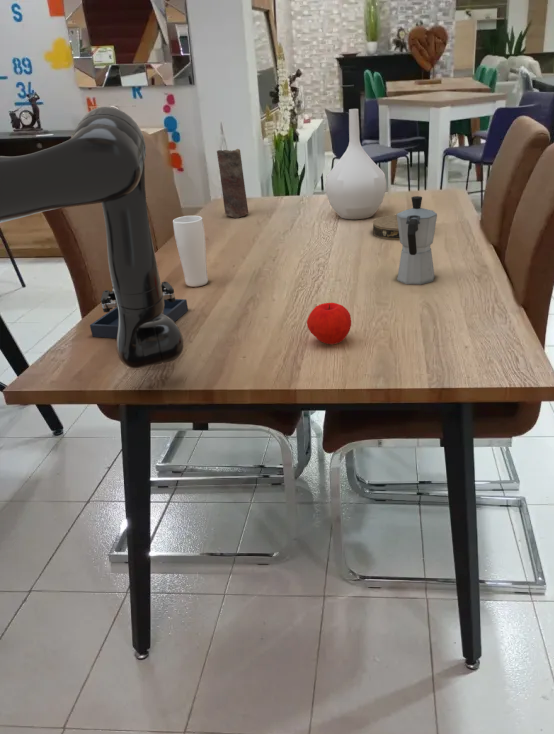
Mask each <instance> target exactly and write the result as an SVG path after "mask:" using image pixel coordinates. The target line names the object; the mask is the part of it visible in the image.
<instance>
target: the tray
mask: <svg viewBox="0 0 554 734" xmlns="http://www.w3.org/2000/svg"><path fill="white" fill-rule="evenodd" d="M175 300H176V301H175V302H169V301H166V299H165V300H164V310H163V311H164V315H166V316H168V317H169V318H171V319H172V320H173V321H174V322H175V323H176V322H177V321H178V320H179V319H180V318H181V317H182V316H184V315H185V314H186V313H187V312H189V306H188V300H187V299H186V298H184V299H182V298H175ZM118 323H119V313H118V308H117V307H113V309H110V311H109V312H106V313H105V314H104V315H102V316H100V317H99V318H98V319H96V320H95V321H94V322H91V324H89V328H90V331H91V336H92V337H93V338H105V339H106V338H108V339H117V332H118Z"/></svg>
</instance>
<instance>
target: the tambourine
mask: <svg viewBox="0 0 554 734" xmlns="http://www.w3.org/2000/svg"><path fill="white" fill-rule="evenodd" d="M372 230H373V231H372V234H373V235H374V236H375V237H377V238H380V239H384V240H385V239H386V240H395V241H400V237H399V229H398V221H397V215H396V214H390V215H384V216H380V217H377V218H375V219H374V220H373V221H372Z"/></svg>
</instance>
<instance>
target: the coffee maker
mask: <svg viewBox="0 0 554 734" xmlns="http://www.w3.org/2000/svg"><path fill="white" fill-rule="evenodd" d="M410 199H411V204H412V207H410V208H408V209H405V210H402V211H399V212H397V213H395V215H397V221H398V229H399V237H400V240H399V243H400V244H401V245H402V249H401V251H400V258H399V265H398V272H397V276H396V277H397V278H396V281H397V282H400V283H402V284H405V285H420V286H421V285H425V284H428V283H429V284H430V283H433V282H434V280H435V268H434V261H433V252H432V248H431V245H432V244H433V243H434V238H435V231H436V224H437V220H438V219H437V218H438V213H437V212H435V211H434V210H433V209H428V208H423V207H422V201H423V197H422V196H421V195H420V196H419V195H416V196H411V198H410Z"/></svg>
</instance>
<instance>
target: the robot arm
mask: <svg viewBox="0 0 554 734" xmlns="http://www.w3.org/2000/svg"><path fill="white" fill-rule="evenodd" d="M146 156H147V147H146V141H145V137H144V133H143V132H142V130H141V128H140V126H139V124H138V123H137V122H136V121H135V119H133V117H131V116H130V115H129V114H128V113H126V112H125V111H123V110H121V109H119V108H115V107H112V106H99V107H97V108H93V109H91V110H89V112H87V113H86V114H85V115H84V116H83V117H82V118H81V119H80V120H79V122H78V123H77V125H76V127H75V129H74V132H73V134H72V137H71V138H69V139H68V140H66V141H62V143H59V144H56V145H53V146H51V147H48V148H44V149H41V150H38V151H35V152H32V153H28V154H23V155H16V156H5V155H0V224H2V223H6V222H10V221H14V220H17V219H21V218H25V217H29V216H32V215H35V214H39V213H43V212H47V211H52V210H58V209H65V208H66V209H67V208H73V207H79V206H88V205H96V204H101V207H102V213H103V218H104V227H105V236H106V237H105V238H106V250H107V251H106V252H107V263H108V270H109V275H110V280H111V285H112V286H111V287H112V291H110V290H108V289H105V290H103V291H102V294H101V297H100V302H101V307H102V311H103V313H108V312H110V311H111V310H112V309H114V308H115V307H117V308H118V313H119V323H118V332H117V338H116V347H115V348H116V354H117V356H118V359H119V360H120V362H121V364H122V365H124V366H125V367H126V368H128V369H131V370H139V369H143V368H149V367H154V366H158V365H159V366H160V365H163V364H164V365H165V364H169V363H172V362H175V361H177V360H178V359H179V358H180V357H181V356H182V354H183V352H184V348H185V342H184V341H185V340H184V337H183V333H182V331H181V329H180V327H179V326H178V325H177V323H176V321H175V322H174V321H173V320H172V319H171V318H169V317H168V316H166V315H164V311H163V310H164V300H165V299H166V301H169V302H175V301H176V300H175V299H176V295H175V290H174V287H173V286H172V285H171V284H170V283H169V282H168V281H162V282H161V276H160V271H159V267H158V262H157V261H158V260H157V257H156V252H155V248H154V243H153V242H154V241H153V236H152V232H151V231H152V230H151V226H150V219H149V212H148V204H147V203H148V202H147V195H146V194H147V193H146V174H145V173H146V163H145V162H146Z"/></svg>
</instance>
